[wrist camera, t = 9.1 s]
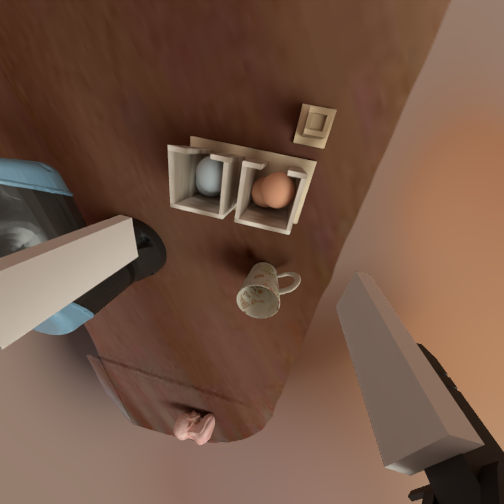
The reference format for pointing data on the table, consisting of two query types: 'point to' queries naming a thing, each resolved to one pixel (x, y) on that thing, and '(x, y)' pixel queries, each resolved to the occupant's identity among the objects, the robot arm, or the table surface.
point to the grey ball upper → (210, 174)
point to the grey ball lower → (203, 191)
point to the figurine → (194, 427)
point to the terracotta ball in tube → (258, 193)
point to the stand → (314, 126)
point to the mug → (263, 291)
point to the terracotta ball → (278, 190)
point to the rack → (236, 182)
